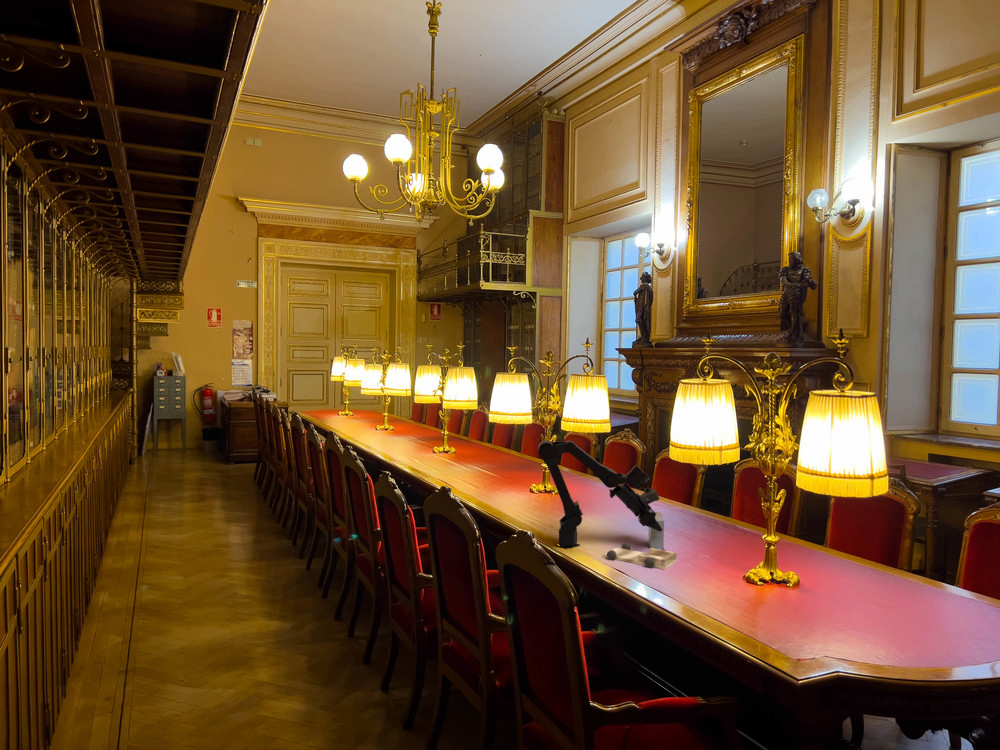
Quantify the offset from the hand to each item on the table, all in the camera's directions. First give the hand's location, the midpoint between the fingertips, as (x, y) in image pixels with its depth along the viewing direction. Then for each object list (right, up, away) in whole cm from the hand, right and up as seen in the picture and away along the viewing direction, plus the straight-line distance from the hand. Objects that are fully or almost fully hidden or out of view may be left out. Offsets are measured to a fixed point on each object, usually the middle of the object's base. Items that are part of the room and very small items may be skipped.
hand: (660, 528), depth 243 cm
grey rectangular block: (-1, -7, 0) cm, 7 cm away
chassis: (-10, -7, -14) cm, 19 cm away
